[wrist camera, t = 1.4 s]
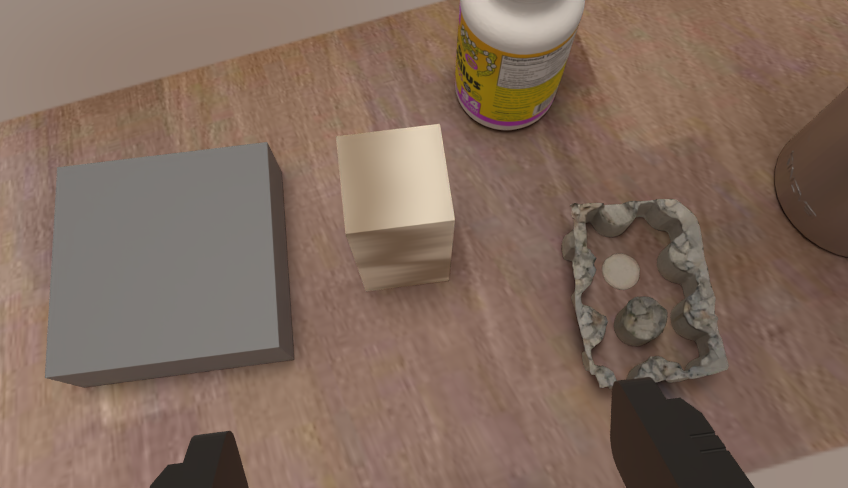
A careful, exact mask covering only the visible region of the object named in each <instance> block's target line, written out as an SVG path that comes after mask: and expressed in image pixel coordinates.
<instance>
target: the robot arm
mask: <svg viewBox="0 0 848 488" xmlns="http://www.w3.org/2000/svg"><path fill="white" fill-rule="evenodd" d="M775 187H776V192H777V196H778V199H779V202H780V204H781V206H782V208H783V210H784V212H785V214H786V215H787V217H788V218H789V219H790V221H791V222H792V224H793V225H794V226H795V227H796V228H797V229H798V230H799V231H800V232H801V233H802V234H803V235H804V236H805V237H806V238H808V239H809V240H811V241H812V242H814V243H815V244H817V245H818V246H820V247H821V248H824V249H826V250H828V251H830V252H832V253H835V254H837V255H841V256H845V257H848V87H847V88H846V89H845V90H844V91H843V92H842V93H841V94H839V95H838V96H837V97H836V98H835V99H834V100H833V101H832V102H831V103H830V104H829V105H828V106H826V107H825V108H824V109H823V110H822V111H821V112H820V113H819V114H818V115H817V116H816V117H814V118H813V119H812V120H811V121H810V122H809V123H808V124H807V125H806V126H805V127H804V128H803V129H802V130H801V131H800V132H798V133H797V134H796V135H795V136H794V137H793V138H792V139H791V140H790V141H789V142H788V143H787V144H786V145H785V147H784V148H783V150H782V152H781V153H780V155H779V157H778V161H777V164H776V168H775ZM610 441H611V449H612V454H613V458H614V461H615V464H616V467H617V469H618V471H619V473H620V475H621V477H622V479H623V482H624V484H625V486H626V488H754V486H753V485H752V483H751V482H750V481H749V479H748V478H747V476H746V475H745V474H744V472H743V471H742V469H741V468H740V466H739V465H738V464H737V462H736V461H735V459H734V458H733V457H732V455H731V454H730V452H729V451H726V447H725V445H724V444H723V443H722V441H721V440H720V438H719V437H718V435H715V431H714V430H713V428H712V427H711V426H710V424H709V423H708V421H707V420H706V419H705V417H704V416H703V414H702V413H701V412H700V411H698V410H697V409H695V408H694V407H692V406H691V405H690V404H688V403H687V402H685V401H684V400H683V399H681V398H675V399H667V400H666V398H665V397H664V395H663V394H662V392H661V390H660V389H659V387H658V386H657V384H656V383H655V381H654V380H653V379H652V378H651V377H643V378H636V379H628V380H620V381H615V382H614V383H613V386H612V403H611V430H610ZM150 488H248V483H247V480H246V476H245V473H244V469H243V465H242V462H241V458H240V455H239V451H238V448H237V444H236V441H235V438H234V435H233V433H232V432H231V431H225V432H217V433H210V434H202V435H195V436H193V437H192V439H191V441H190V443H189V446H188V449H187V452H186V455H185V458H184V461H183V463H178V464H171V465H168V466H167V467H166V468H165V469H164V470H163V471H162V473H161V474H160V475H159V476H158V477H157V478H156V480H155V481H154V482H153V483H152V484H151V485H150Z"/></svg>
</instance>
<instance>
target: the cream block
mask: <svg viewBox="0 0 848 488" xmlns="http://www.w3.org/2000/svg"><path fill="white" fill-rule="evenodd" d="M336 141H337V152H338V162H339V172H340V182H341V193H342V203H343V213H344V223H345V234H346V237H347V239H348V242H349V245H350V248H351V251H352V254H353V256H354V259H355V262H356V265H357V268H358V271H359V274H360V276H361V279H362V282H363V285H364V288H365V291H374V290H382V289H390V288H397V287H405V286H413V285H421V284H429V283H436V282H444V281H449V275H450V265H451V255H452V244H453V234H454V224H455V218H454V211H453V205H452V199H451V192H450V186H449V180H448V173H447V167H446V160H445V154H444V148H443V141H442V135H441V129H440V124H435V125H427V126H418V127H410V128H402V129H393V130H385V131H377V132H368V133H360V134H352V135H343V136H336Z"/></svg>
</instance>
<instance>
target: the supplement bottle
mask: <svg viewBox="0 0 848 488" xmlns="http://www.w3.org/2000/svg"><path fill="white" fill-rule="evenodd" d="M584 5H585V0H460V12H459V25H458V40H457V55H456V70H455V89H456V94H457V97H458V100H459V102H460V104H461V106H462V107H463V109H464V110H465V111H466V113H467V114H468V115H469V116H470V117H471V118H473V119H474V120H475V121H477V122H478V123H480V124H482V125H484V126H487V127H490V128H493V129H498V130H514V129H519V128H523V127H526V126H528V125H531V124H532V123H534V122H536V121H537V120H539V119H540V118H541V117H542V116H543V115H544V114H545V113H546V112H547V111H548V109H549V108H550V106H551V104H552V102H553V100H554V98H555V95H556V92H557V89H558V86H559V83H560V80H561V77H562V74H563V71H564V68H565V65H566V62H567V59H568V55H569V52H570V49H571V46H572V43H573V40H574V37H575V34H576V32H577V29H578V26H579V23H580V20H581V17H582V14H583V10H584Z"/></svg>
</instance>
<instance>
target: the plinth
mask: <svg viewBox="0 0 848 488" xmlns="http://www.w3.org/2000/svg"><path fill="white" fill-rule="evenodd" d="M288 360H294V350H293V334H292V319H291V304H290V289H289V274H288V258H287V243H286V228H285V213H284V197H283V182H282V171H281V169H280V167H279V165H278V163H277V161H276V159H275V157H274V155H273V153H272V151H271V149H270V147H269V145H268V143H267V142H264V143H256V144H248V145H239V146H231V147H223V148H214V149H206V150H198V151H190V152H181V153H173V154H165V155H156V156H148V157H140V158H131V159H123V160H115V161H107V162H98V163H90V164H82V165H73V166H65V167H57V181H56V198H55V215H54V232H53V249H52V266H51V283H50V300H49V317H48V334H47V351H46V368H45V378H48V379H52V380H56V381H60V382H64V383H68V384H72V385H76V386H80V387H91V386H99V385H106V384H114V383H121V382H129V381H137V380H144V379H152V378H159V377H167V376H174V375H182V374H190V373H197V372H205V371H212V370H220V369H228V368H235V367H243V366H250V365H258V364H265V363H273V362H281V361H288Z"/></svg>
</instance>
